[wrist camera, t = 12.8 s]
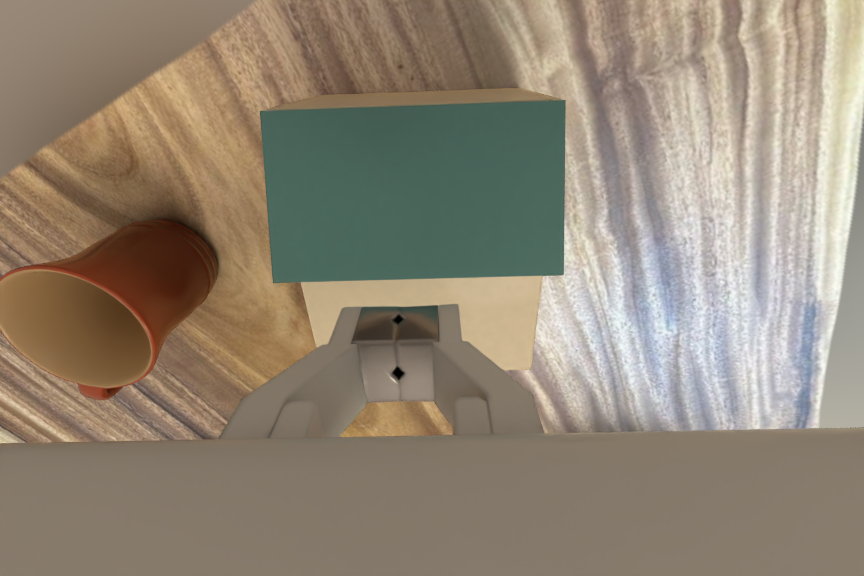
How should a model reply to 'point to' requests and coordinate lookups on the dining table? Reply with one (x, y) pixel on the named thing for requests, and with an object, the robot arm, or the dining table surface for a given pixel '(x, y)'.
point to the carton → (477, 297)
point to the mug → (107, 304)
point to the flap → (415, 191)
